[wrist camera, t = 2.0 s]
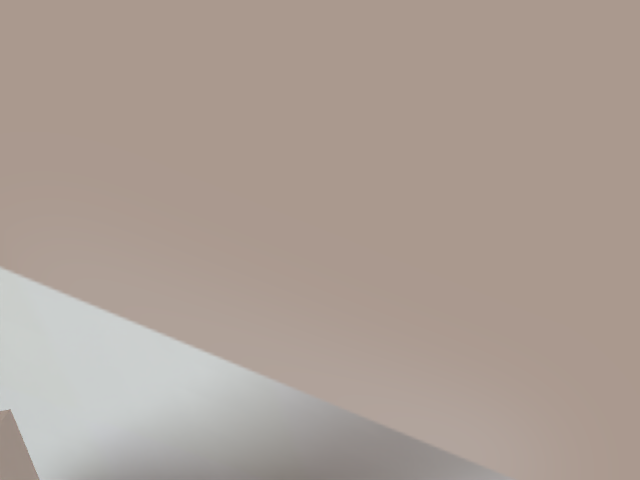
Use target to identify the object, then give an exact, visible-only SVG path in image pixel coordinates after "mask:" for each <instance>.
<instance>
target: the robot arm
mask: <svg viewBox="0 0 640 480" xmlns="http://www.w3.org/2000/svg"><path fill="white" fill-rule="evenodd" d="M0 480H39V477H38V475H37V473H36V470H35V468H34V465H33V463H32V460H31V458H30V456H29V453H28V451H27V448H26V446H25V443H24V441H23V438H22V436H21V434H20V431H19V429H18V426H17V424H16V421H15V419H14V417H13V414H12V412H11V409H10V410H5V411H0Z"/></svg>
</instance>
